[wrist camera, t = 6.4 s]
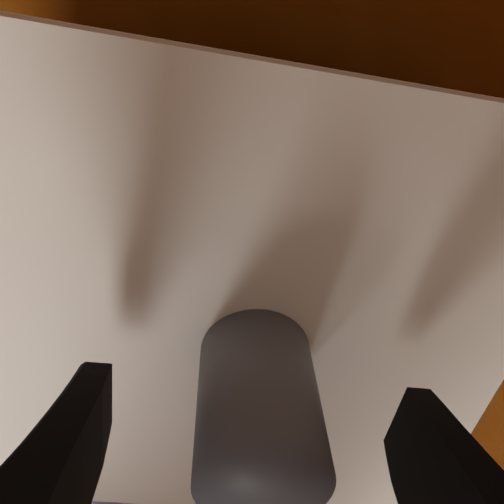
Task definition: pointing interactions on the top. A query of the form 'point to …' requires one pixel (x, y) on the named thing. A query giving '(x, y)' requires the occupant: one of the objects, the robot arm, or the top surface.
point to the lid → (241, 260)
